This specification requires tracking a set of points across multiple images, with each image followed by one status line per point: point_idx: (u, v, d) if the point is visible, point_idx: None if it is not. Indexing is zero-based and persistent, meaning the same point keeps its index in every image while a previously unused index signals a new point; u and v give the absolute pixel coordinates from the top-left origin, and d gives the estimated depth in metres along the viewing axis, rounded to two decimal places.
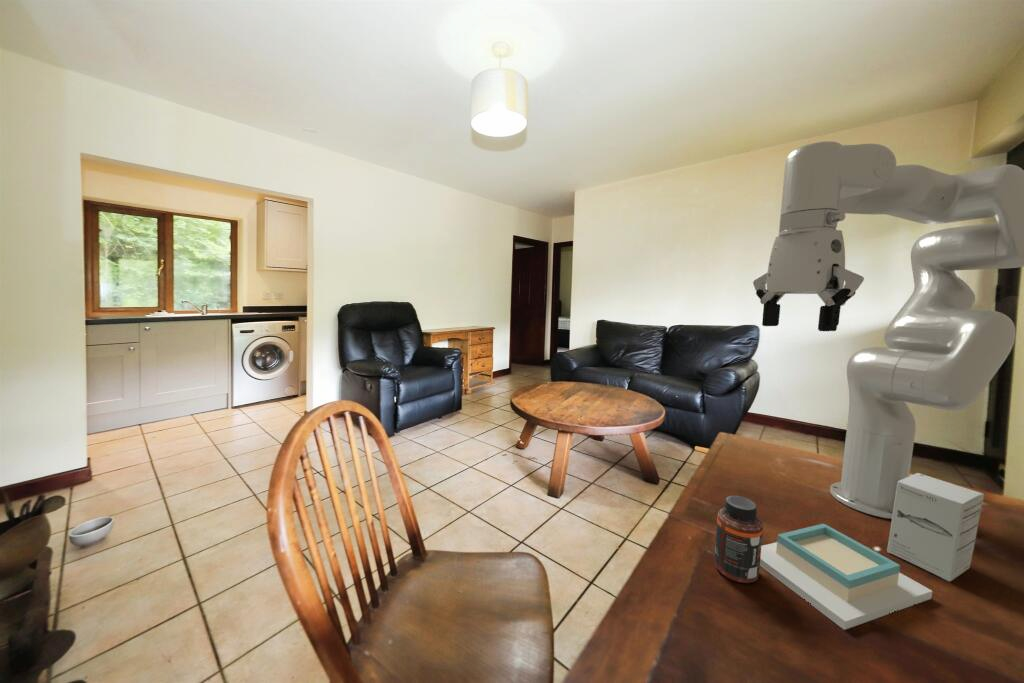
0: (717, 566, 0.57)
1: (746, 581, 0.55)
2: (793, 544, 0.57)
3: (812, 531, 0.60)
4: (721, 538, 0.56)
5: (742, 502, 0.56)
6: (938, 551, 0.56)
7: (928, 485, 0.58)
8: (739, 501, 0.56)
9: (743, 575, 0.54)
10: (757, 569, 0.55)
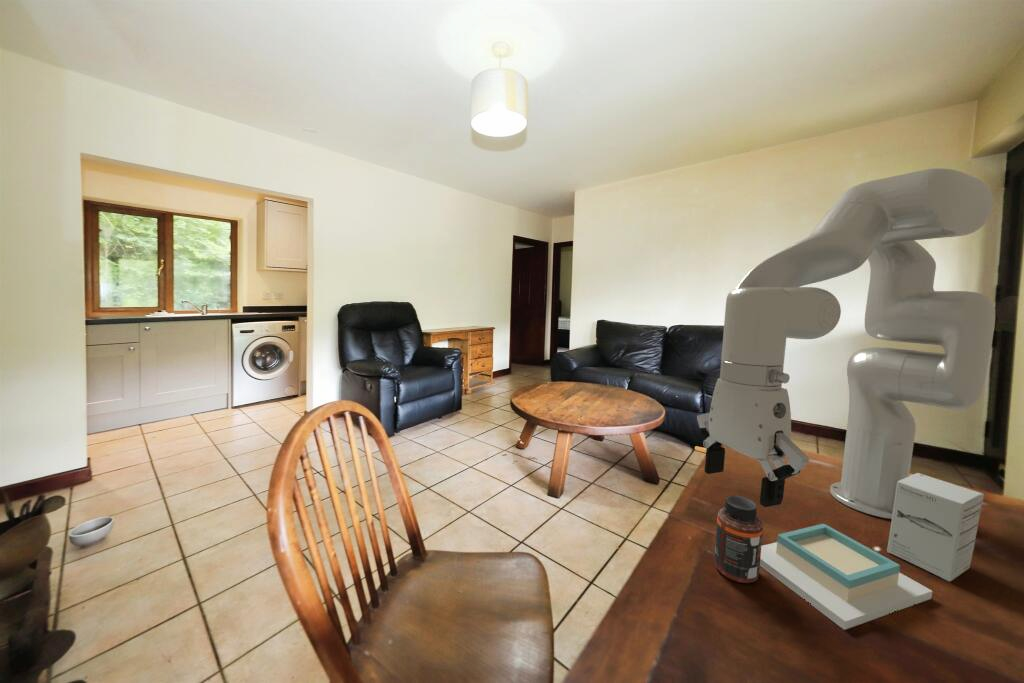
0: (717, 566, 0.57)
1: (746, 581, 0.55)
2: (793, 544, 0.57)
3: (812, 531, 0.60)
4: (721, 538, 0.56)
5: (742, 502, 0.56)
6: (938, 551, 0.56)
7: (927, 485, 0.58)
8: (739, 501, 0.56)
9: (743, 575, 0.54)
10: (757, 569, 0.55)
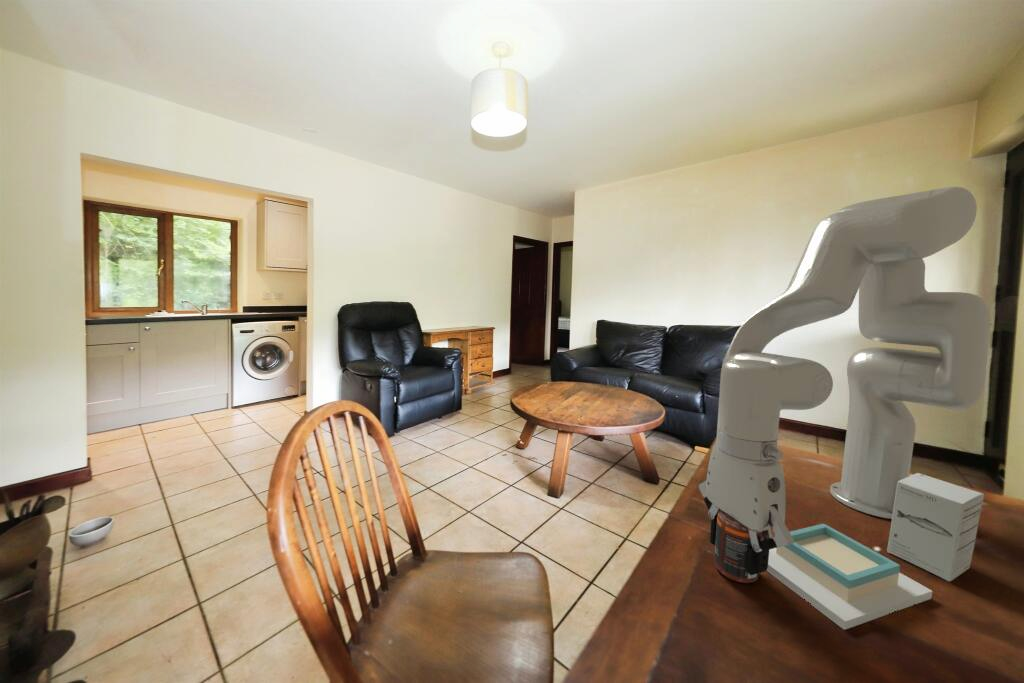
0: (717, 566, 0.57)
1: (746, 581, 0.55)
2: (793, 544, 0.57)
3: (812, 531, 0.60)
4: (721, 538, 0.56)
5: None
6: (938, 551, 0.56)
7: (927, 485, 0.58)
8: None
9: (743, 575, 0.54)
10: None
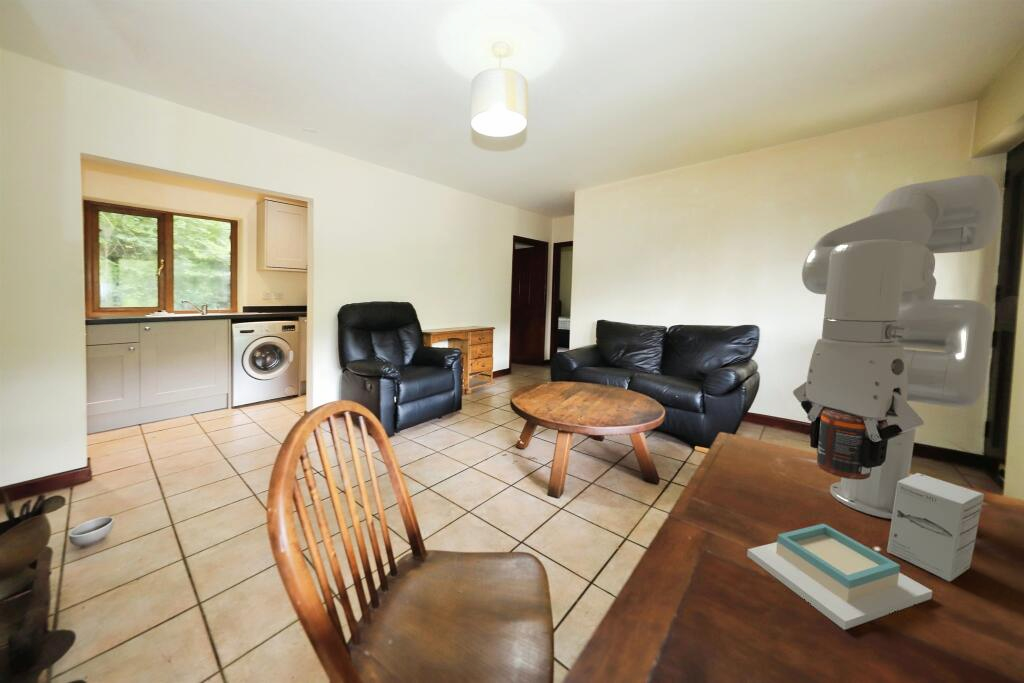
0: (823, 466, 0.54)
1: (859, 477, 0.51)
2: (793, 544, 0.57)
3: (812, 531, 0.60)
4: (829, 435, 0.53)
5: None
6: (938, 551, 0.56)
7: (927, 485, 0.58)
8: None
9: (856, 470, 0.51)
10: None
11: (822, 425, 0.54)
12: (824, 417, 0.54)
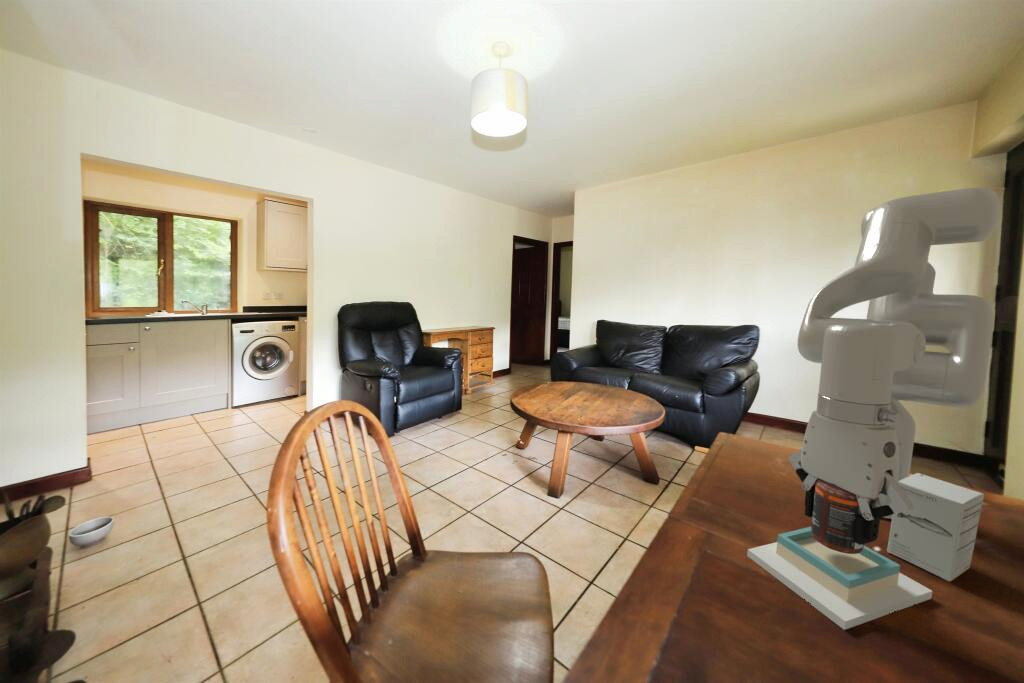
0: (817, 538, 0.55)
1: (852, 552, 0.53)
2: (793, 544, 0.57)
3: None
4: (823, 509, 0.54)
5: None
6: (938, 551, 0.56)
7: (927, 485, 0.58)
8: None
9: (849, 545, 0.53)
10: None
11: (816, 497, 0.56)
12: (818, 489, 0.55)
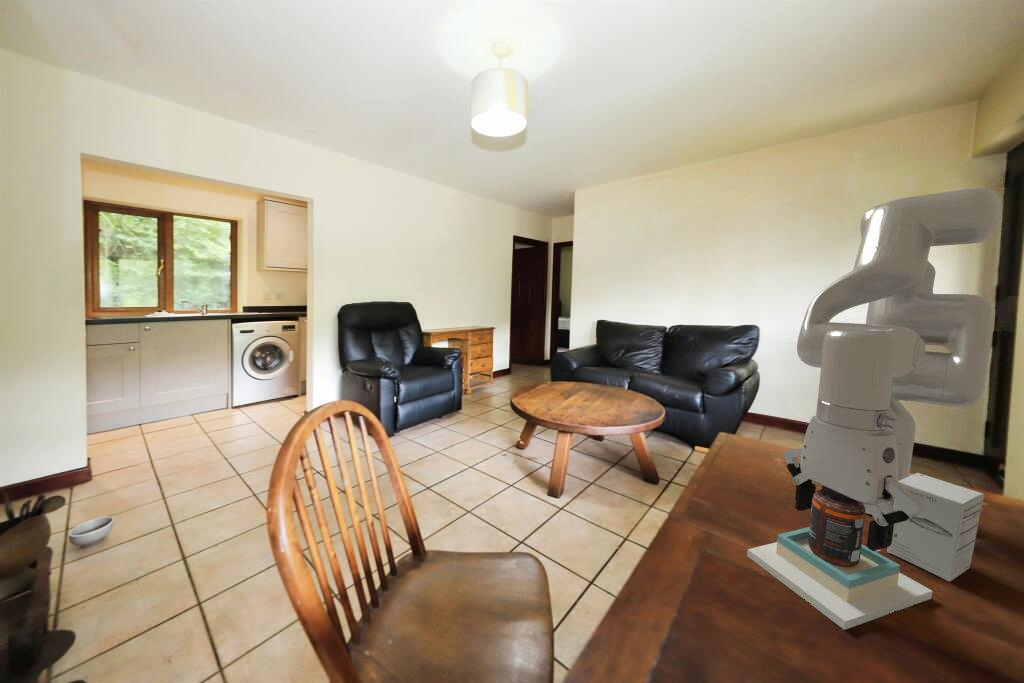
0: (814, 550, 0.56)
1: (849, 564, 0.53)
2: (793, 544, 0.57)
3: None
4: (820, 521, 0.55)
5: None
6: (938, 551, 0.56)
7: (927, 485, 0.58)
8: None
9: (846, 558, 0.53)
10: (859, 552, 0.54)
11: (813, 509, 0.56)
12: (815, 502, 0.56)
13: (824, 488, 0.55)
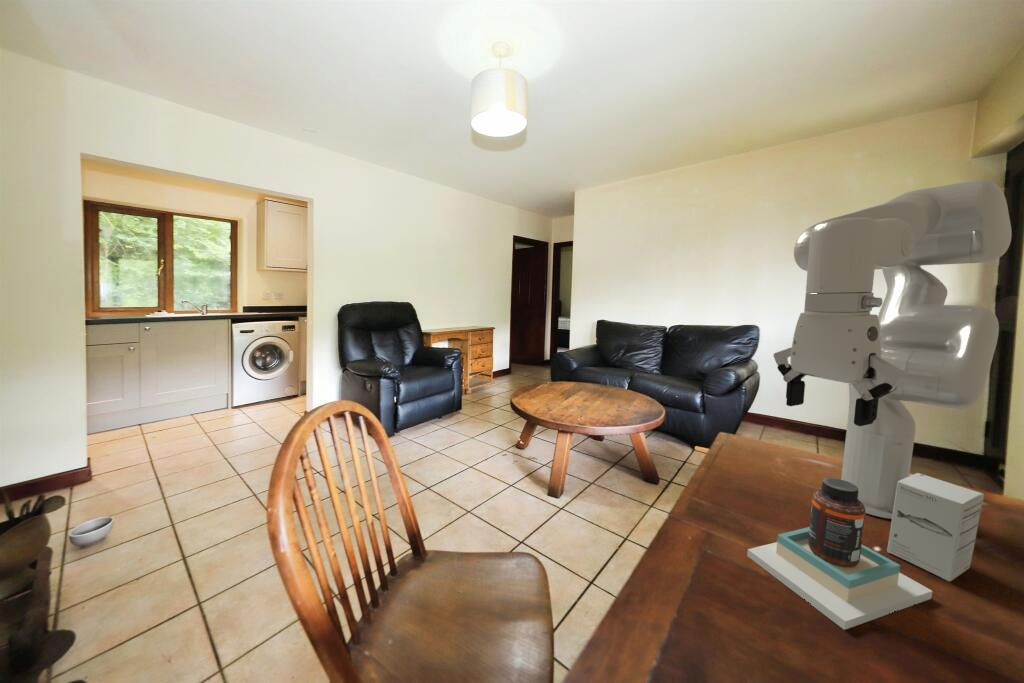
0: (814, 550, 0.56)
1: (849, 564, 0.53)
2: (793, 544, 0.57)
3: None
4: (820, 521, 0.55)
5: (842, 484, 0.55)
6: (938, 551, 0.56)
7: (927, 485, 0.58)
8: (838, 482, 0.55)
9: (846, 558, 0.53)
10: (859, 552, 0.54)
11: (813, 509, 0.56)
12: (815, 502, 0.56)
13: (824, 488, 0.55)
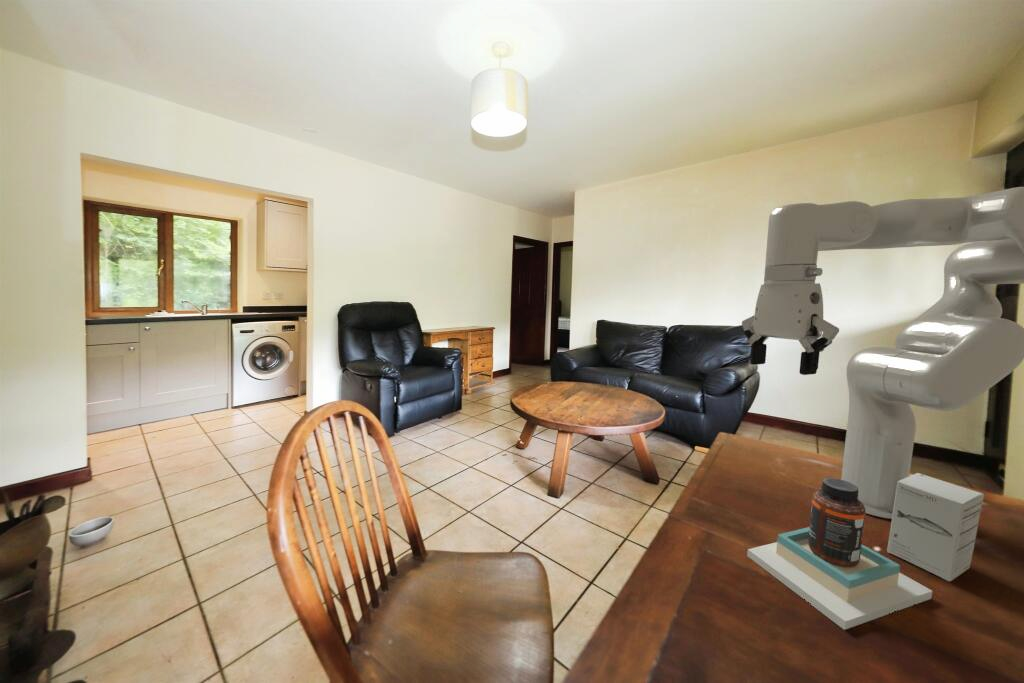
0: (814, 550, 0.56)
1: (849, 564, 0.53)
2: (793, 544, 0.57)
3: None
4: (820, 521, 0.55)
5: (842, 484, 0.55)
6: (938, 551, 0.56)
7: (927, 485, 0.58)
8: (838, 482, 0.55)
9: (846, 558, 0.53)
10: (859, 552, 0.54)
11: (813, 509, 0.56)
12: (815, 502, 0.56)
13: (824, 488, 0.55)
